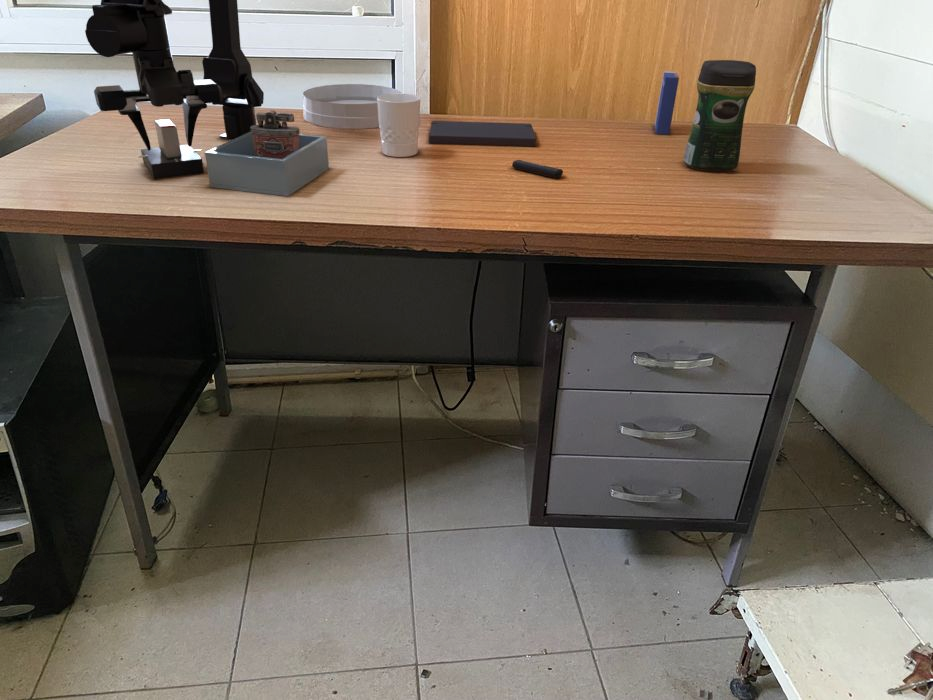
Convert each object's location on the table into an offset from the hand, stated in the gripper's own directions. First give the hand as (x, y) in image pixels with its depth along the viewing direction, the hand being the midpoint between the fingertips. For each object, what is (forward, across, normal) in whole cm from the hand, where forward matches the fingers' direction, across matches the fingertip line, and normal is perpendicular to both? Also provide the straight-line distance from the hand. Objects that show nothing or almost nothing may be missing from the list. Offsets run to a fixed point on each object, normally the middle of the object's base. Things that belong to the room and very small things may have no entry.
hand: (169, 147), depth 118 cm
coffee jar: (+4, +88, -40) cm, 96 cm away
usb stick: (+4, +56, -29) cm, 63 cm away
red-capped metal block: (+1, 0, 0) cm, 1 cm away
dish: (+4, +43, +23) cm, 49 cm away
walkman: (+4, +100, -15) cm, 101 cm away
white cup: (+4, +40, -7) cm, 40 cm away
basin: (+4, +13, -12) cm, 18 cm away
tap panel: (+4, 0, 0) cm, 4 cm away
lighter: (+3, +15, -12) cm, 19 cm away
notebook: (+4, +60, -4) cm, 60 cm away
